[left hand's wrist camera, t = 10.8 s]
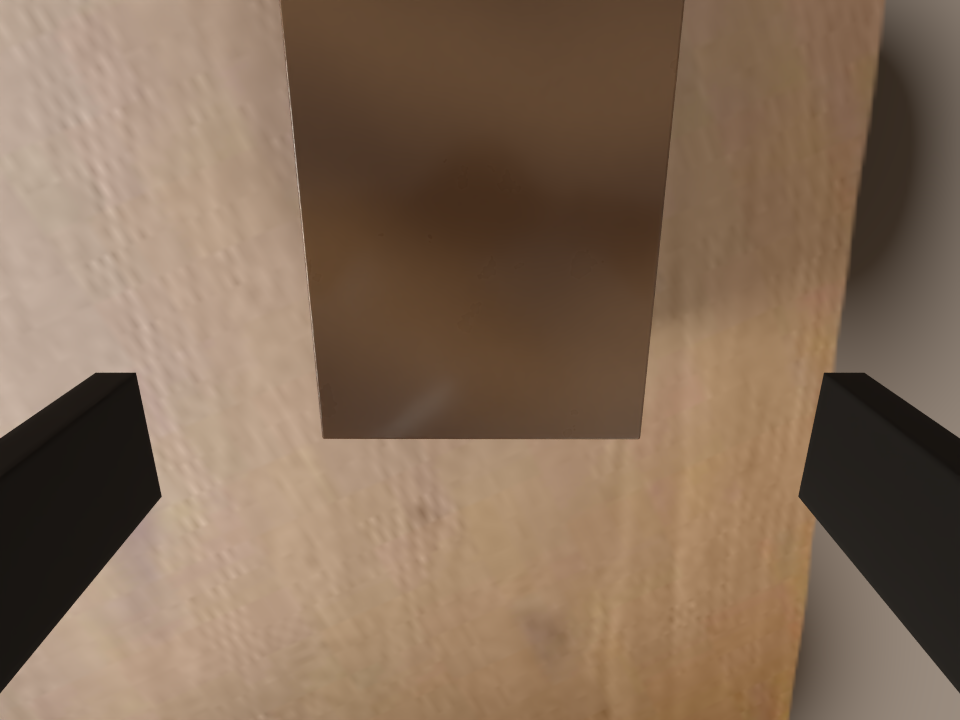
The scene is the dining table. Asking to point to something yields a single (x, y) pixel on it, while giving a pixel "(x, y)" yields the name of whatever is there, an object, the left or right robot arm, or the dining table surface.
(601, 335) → the cabinet
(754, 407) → the dining table surface
